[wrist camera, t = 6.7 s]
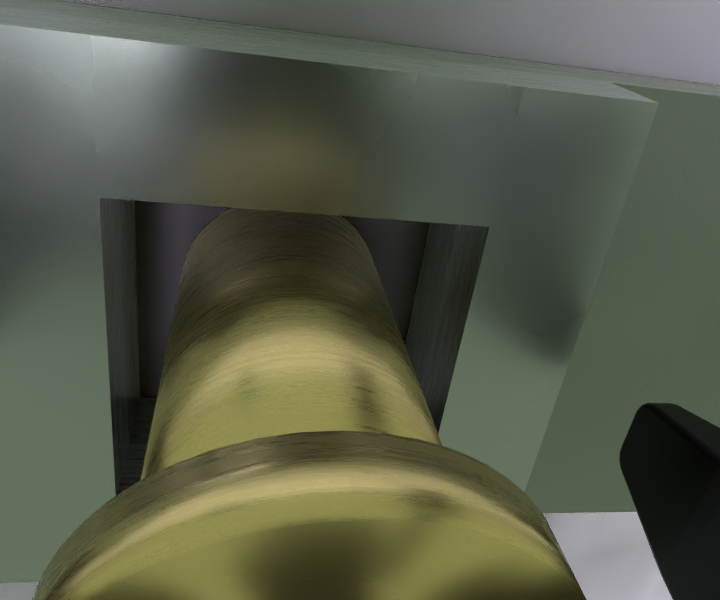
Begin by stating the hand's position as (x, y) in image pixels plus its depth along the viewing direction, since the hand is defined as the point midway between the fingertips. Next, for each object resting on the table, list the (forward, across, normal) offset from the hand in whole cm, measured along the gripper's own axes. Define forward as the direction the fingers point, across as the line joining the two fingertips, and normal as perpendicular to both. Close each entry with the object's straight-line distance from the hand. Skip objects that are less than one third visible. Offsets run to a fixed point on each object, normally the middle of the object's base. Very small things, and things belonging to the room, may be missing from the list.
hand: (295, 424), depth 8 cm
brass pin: (+4, 0, 0) cm, 4 cm away
